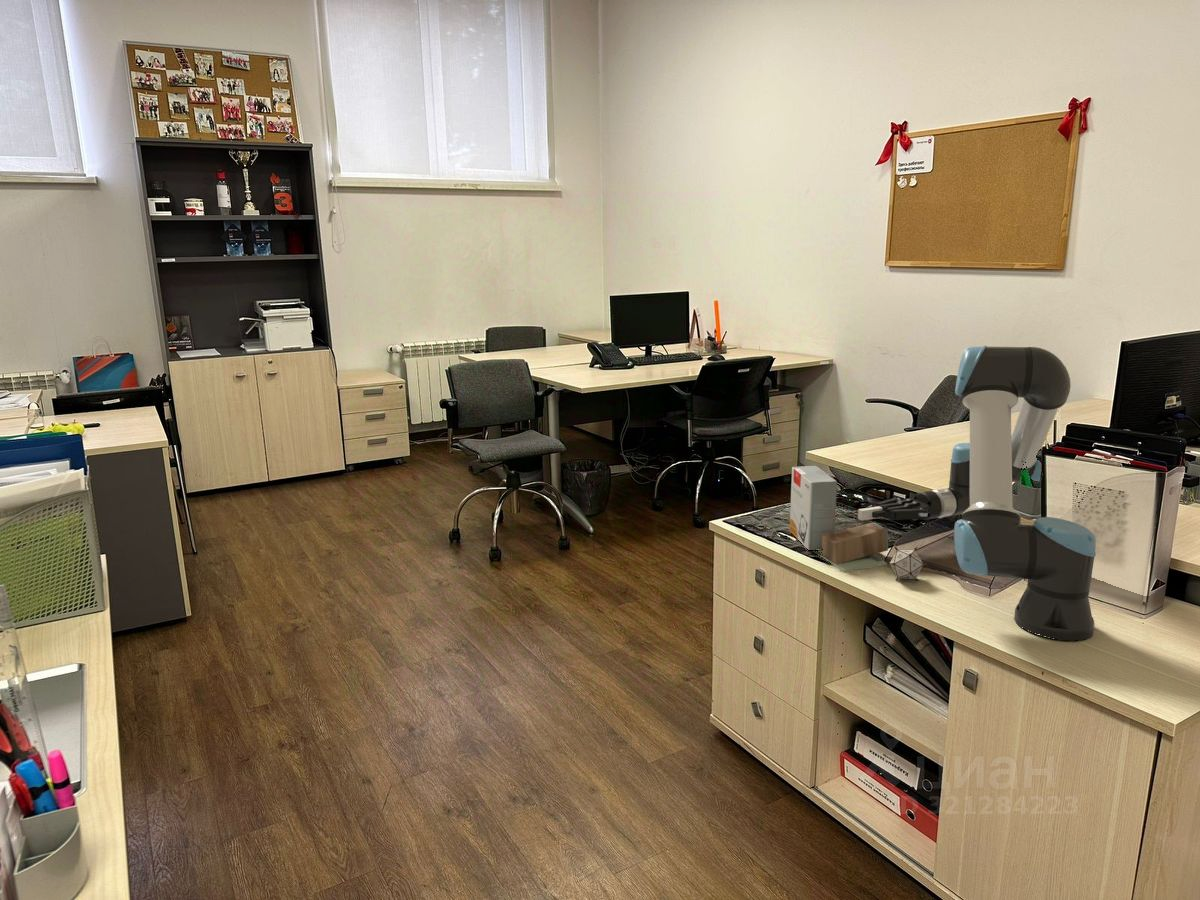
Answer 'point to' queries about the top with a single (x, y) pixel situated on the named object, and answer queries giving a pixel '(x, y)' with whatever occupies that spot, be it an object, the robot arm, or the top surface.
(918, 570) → the game die
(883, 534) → the walnut block
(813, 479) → the hard drive box
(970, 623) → the top surface
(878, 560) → the pale green square plate
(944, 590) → the top surface
